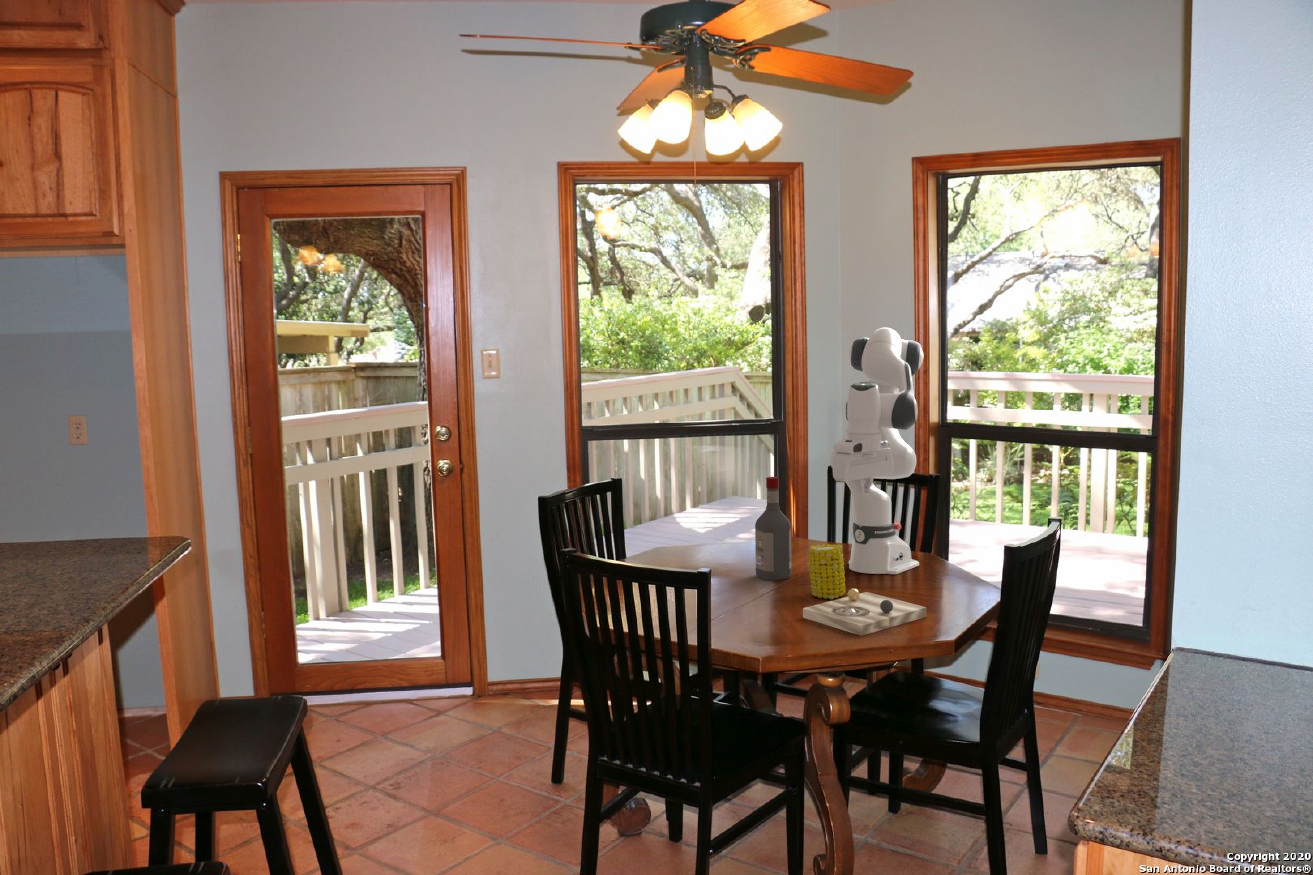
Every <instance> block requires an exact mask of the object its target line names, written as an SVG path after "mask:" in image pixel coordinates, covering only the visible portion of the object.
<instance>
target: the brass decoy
mask: <svg viewBox="0 0 1313 875" xmlns="http://www.w3.org/2000/svg"><path fill="white" fill-rule="evenodd" d="M846 594H847V596H846V597H848V598H849V599H850V600H852V601H855V600H857V599H858V598H859V596H860V591H859V590H858V589H857V588H849V590H848V591H847V593H846Z"/></svg>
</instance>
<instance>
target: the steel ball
mask: <svg viewBox="0 0 1313 875" xmlns="http://www.w3.org/2000/svg"><path fill="white" fill-rule="evenodd" d="M845 613H846V614H857V613H856V611H855V610H853V609H847V610H846V611H845Z"/></svg>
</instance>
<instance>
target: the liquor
mask: <svg viewBox="0 0 1313 875" xmlns="http://www.w3.org/2000/svg"><path fill="white" fill-rule="evenodd" d="M765 480H766V481H765V482H766V483H765V489H766V506H765V510H764V511H763V512H762V514H761V515H760V516H759V517H758V518H757V519H756V521H755V524H754V532H755V534H754V535H755V544H754V545H755V546H754V547H755V575H756V577H757V578H759V579H762V580H764V581H771V582H776V581H782V580H788V579H789V578H790V577H791V575H792V525H791V522H790V519H789V518H788V517H787V516H786V515H785V514H784V512H782V510H781V508H780V504H779V503H780V502H779V488H780V485H779V484H780V483H779V481H780V479H779V476H768V477H767V476H766V477H765Z"/></svg>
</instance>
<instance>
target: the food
mask: <svg viewBox="0 0 1313 875" xmlns="http://www.w3.org/2000/svg"><path fill="white" fill-rule="evenodd" d="M844 560H845V559H844V554H843V546H842V545H841V544H840V545H839V544H837V545H836V544H833V543H832V544H830V543H826V544H824V543H822V544H818V543H817V544H816V545H809V547H808V563H809V576H810V577H809V579H810V588H811V593H812V596H813V597H816V598H819V599H822V598H823V599H825V600H827V599H829V600H830V601H833V600H835V599H839V597H843V595H845V594H846V583H845V582H846V578H845V577H846V576H845V567H844V564H845V563H844Z"/></svg>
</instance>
